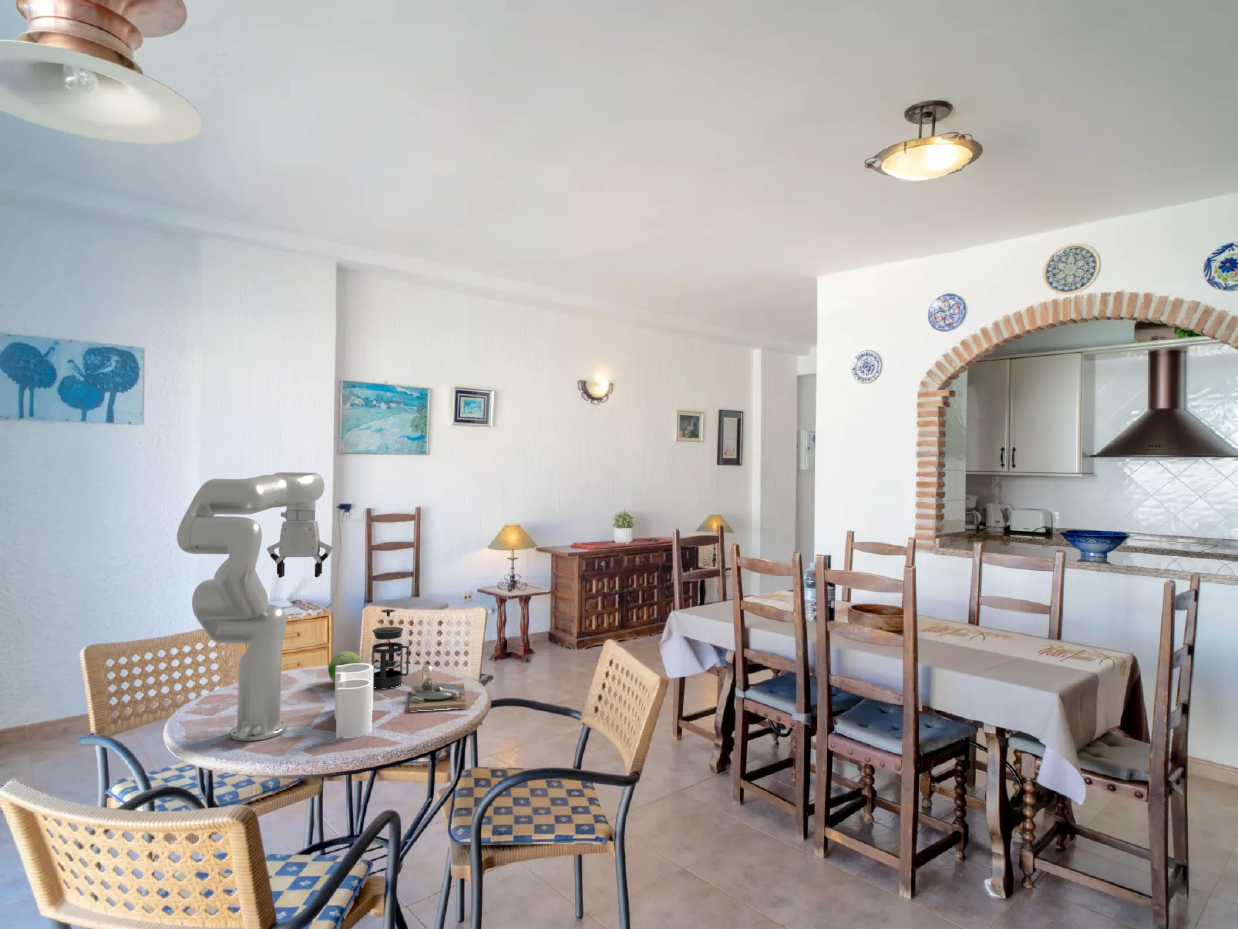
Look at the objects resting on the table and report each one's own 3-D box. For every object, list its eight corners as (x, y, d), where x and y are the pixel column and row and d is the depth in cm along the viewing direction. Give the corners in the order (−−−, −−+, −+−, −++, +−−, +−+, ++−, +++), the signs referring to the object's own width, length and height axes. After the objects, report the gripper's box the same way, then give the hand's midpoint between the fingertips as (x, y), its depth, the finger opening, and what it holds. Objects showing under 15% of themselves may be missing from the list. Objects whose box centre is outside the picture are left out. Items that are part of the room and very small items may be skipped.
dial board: (465, 709, 195) (465, 700, 195) (409, 712, 191) (409, 703, 191) (463, 688, 214) (464, 679, 214) (412, 690, 210) (412, 682, 210)
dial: (473, 692, 204) (473, 667, 204) (440, 704, 193) (440, 678, 193) (438, 684, 211) (438, 660, 212) (404, 695, 200) (405, 670, 200)
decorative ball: (367, 680, 221) (367, 648, 221) (353, 689, 211) (354, 656, 211) (336, 679, 221) (337, 647, 222) (321, 688, 211) (322, 655, 212)
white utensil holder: (375, 735, 174) (376, 686, 174) (332, 740, 170) (333, 690, 171) (372, 705, 197) (373, 661, 198) (334, 708, 194) (335, 664, 194)
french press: (364, 689, 211) (365, 612, 212) (373, 680, 221) (375, 606, 221) (403, 689, 212) (405, 612, 212) (411, 680, 221) (413, 607, 222)
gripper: (263, 517, 195) (262, 579, 195) (329, 517, 198) (328, 578, 197) (272, 515, 202) (271, 575, 202) (335, 515, 205) (334, 574, 205)
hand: (299, 576), depth 200 cm, fingers open, 9 cm apart
